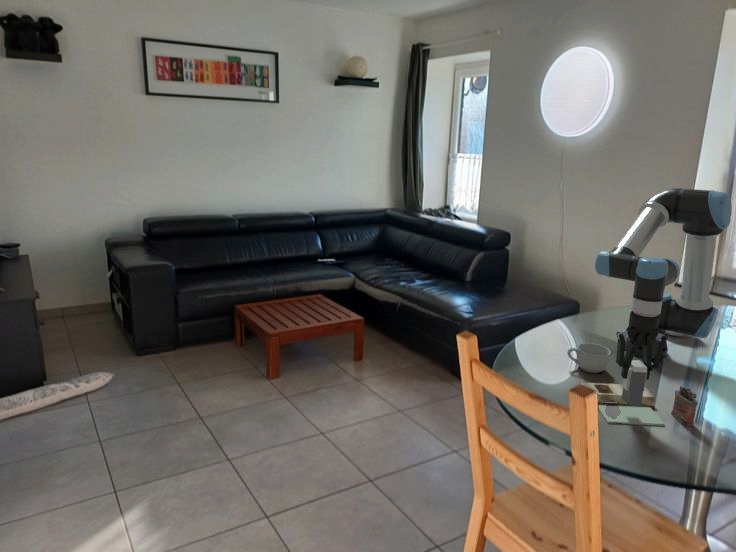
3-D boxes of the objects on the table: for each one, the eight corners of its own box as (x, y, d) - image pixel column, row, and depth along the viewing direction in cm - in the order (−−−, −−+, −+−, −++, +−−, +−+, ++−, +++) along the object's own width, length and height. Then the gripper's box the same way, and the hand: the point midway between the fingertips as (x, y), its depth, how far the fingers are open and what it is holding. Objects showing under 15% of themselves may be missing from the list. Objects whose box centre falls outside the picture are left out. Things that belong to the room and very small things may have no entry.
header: (642, 393, 176) (643, 385, 176) (653, 405, 169) (654, 397, 168) (579, 390, 177) (580, 382, 177) (587, 402, 170) (588, 393, 169)
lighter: (668, 413, 164) (673, 382, 162) (678, 412, 165) (684, 382, 162) (685, 427, 157) (691, 395, 154) (696, 426, 157) (702, 394, 154)
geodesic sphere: (697, 317, 233) (679, 290, 231) (711, 329, 219) (693, 300, 218) (663, 335, 237) (646, 309, 235) (676, 347, 223) (657, 320, 222)
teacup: (606, 365, 197) (609, 345, 195) (608, 378, 187) (611, 356, 185) (565, 360, 202) (568, 339, 199) (565, 371, 192) (568, 350, 190)
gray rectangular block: (634, 397, 163) (639, 360, 160) (640, 405, 159) (647, 367, 156) (621, 397, 164) (627, 359, 161) (628, 405, 159) (634, 366, 156)
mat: (649, 408, 167) (649, 406, 167) (664, 425, 157) (664, 423, 157) (595, 406, 168) (596, 404, 168) (607, 423, 158) (607, 421, 158)
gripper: (669, 309, 157) (656, 384, 163) (610, 307, 158) (599, 381, 164) (682, 318, 150) (668, 396, 156) (619, 315, 151) (608, 393, 157)
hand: (633, 388), depth 160 cm, fingers closed on gray rectangular block, 4 cm apart
